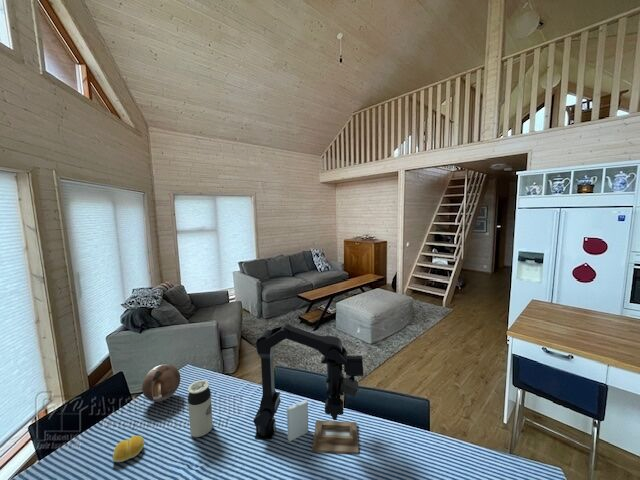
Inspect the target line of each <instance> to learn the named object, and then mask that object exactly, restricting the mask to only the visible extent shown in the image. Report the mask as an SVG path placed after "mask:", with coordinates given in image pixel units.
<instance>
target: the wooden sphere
mask: <svg viewBox="0 0 640 480" xmlns="http://www.w3.org/2000/svg"><path fill="white" fill-rule="evenodd" d="M180 383H181V373H180V371H179V369H178V368H177V367H176V366H174V365H173V364H168V363H167V364H166V363H165V364H164V363H163V364H160V365H157V366H154V367H153V368H152V369H150V371H148V372H147V374H146V375H145V376H144V379H143V382H142V386H141V389H142V394H143V395H144V397H145V398H146V399H147V400H149V401H151V402H155V403H156V402H163V401H166V400H167V399H169V398H171V397H172V396H173V395H174V394H175V393H176V392H177V390H178V388H179V386H180Z"/></svg>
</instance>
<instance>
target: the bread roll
mask: <svg viewBox="0 0 640 480" xmlns="http://www.w3.org/2000/svg"><path fill="white" fill-rule="evenodd" d="M144 447H145V439H144V437H143V436H141V435H133V436H132V437H130V438H128V439H123V440H121V441H120V442H119V443H118V444H117V445H116V446H115V448H114V450H113V453H112V461H113V462H115V463H120V462H121V463H122V462H125V461H127V460H129V459H133V458H135V457H136V456H137V455H139V454H140V452H141V451H142V449H143V448H144Z"/></svg>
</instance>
